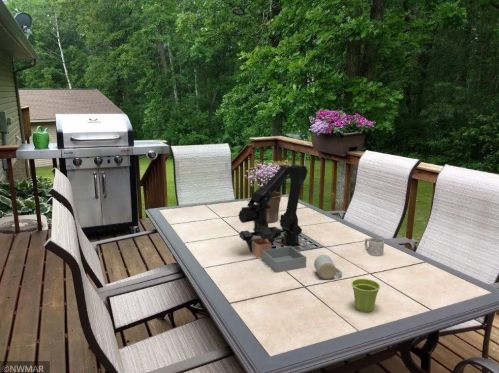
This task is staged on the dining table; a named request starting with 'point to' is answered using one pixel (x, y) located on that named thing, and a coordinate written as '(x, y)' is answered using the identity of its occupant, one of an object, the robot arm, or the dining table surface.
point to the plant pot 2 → (365, 294)
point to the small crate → (259, 246)
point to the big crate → (283, 259)
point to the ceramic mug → (326, 267)
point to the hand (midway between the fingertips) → (260, 251)
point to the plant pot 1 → (273, 207)
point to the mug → (375, 246)
